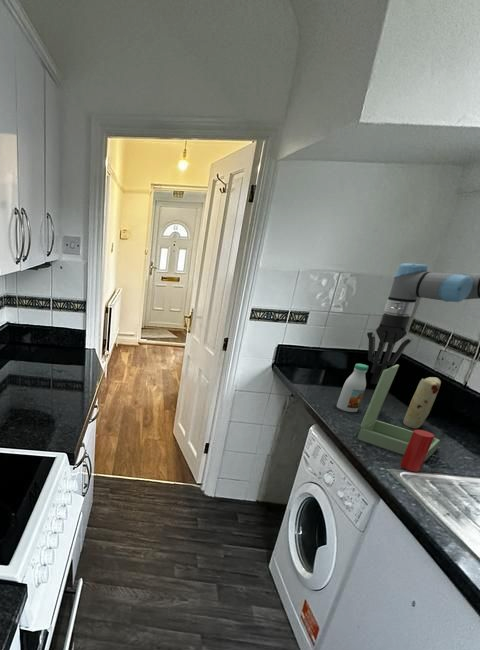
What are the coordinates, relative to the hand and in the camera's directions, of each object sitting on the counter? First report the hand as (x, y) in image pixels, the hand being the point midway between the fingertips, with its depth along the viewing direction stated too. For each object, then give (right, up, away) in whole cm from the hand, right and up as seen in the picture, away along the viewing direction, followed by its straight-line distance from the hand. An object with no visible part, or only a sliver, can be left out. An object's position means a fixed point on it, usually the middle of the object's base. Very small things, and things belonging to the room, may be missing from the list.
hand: (373, 382), depth 144 cm
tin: (+2, -28, -14) cm, 31 cm away
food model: (+26, -16, +17) cm, 35 cm away
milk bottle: (+8, -9, +29) cm, 31 cm away
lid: (+2, -5, -1) cm, 5 cm away
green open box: (+7, -22, -1) cm, 23 cm away
